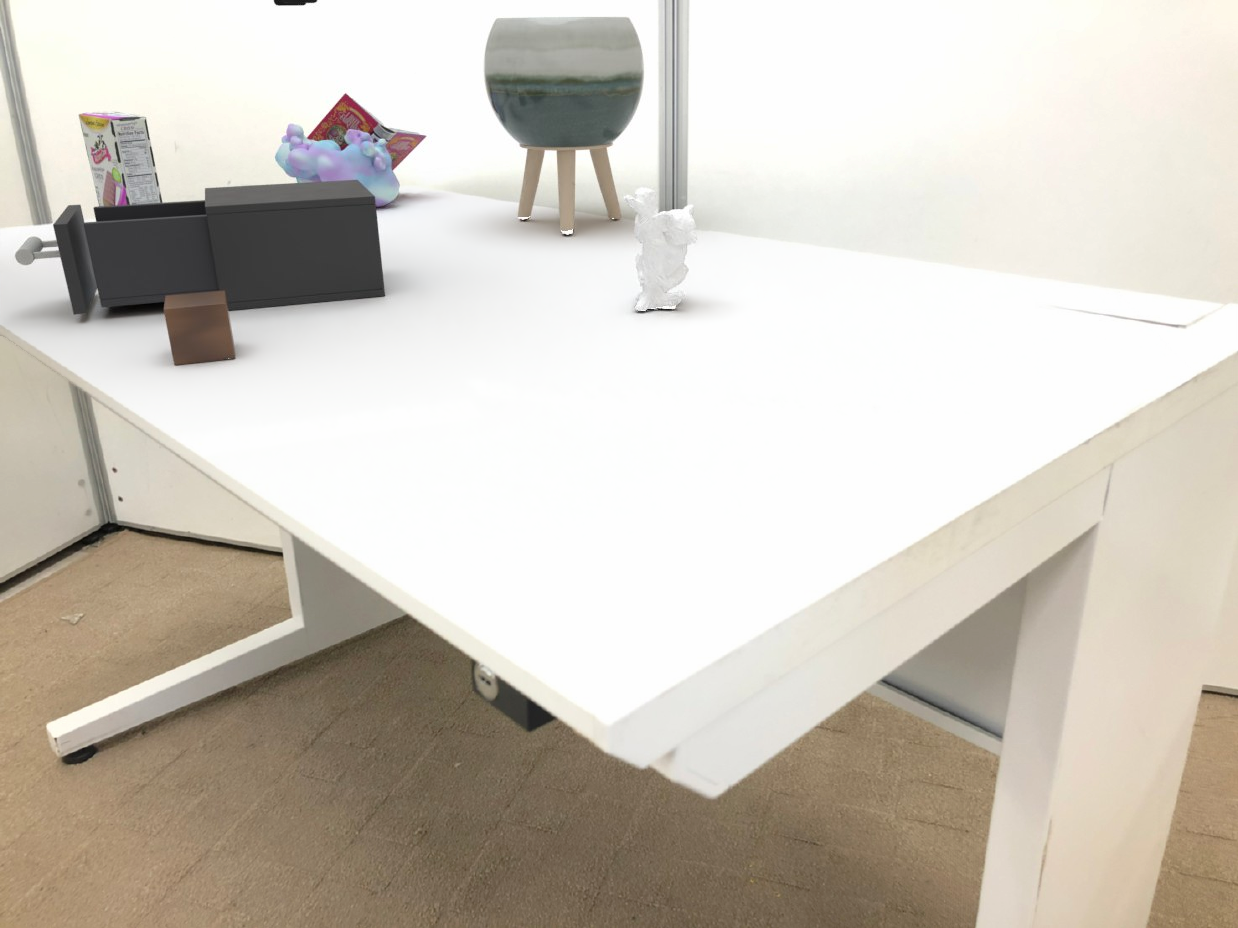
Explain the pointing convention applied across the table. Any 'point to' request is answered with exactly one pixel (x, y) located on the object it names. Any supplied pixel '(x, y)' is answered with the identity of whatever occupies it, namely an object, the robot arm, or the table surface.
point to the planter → (564, 96)
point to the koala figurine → (660, 249)
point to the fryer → (294, 243)
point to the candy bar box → (120, 158)
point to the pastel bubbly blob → (348, 150)
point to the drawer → (130, 253)
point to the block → (199, 327)
